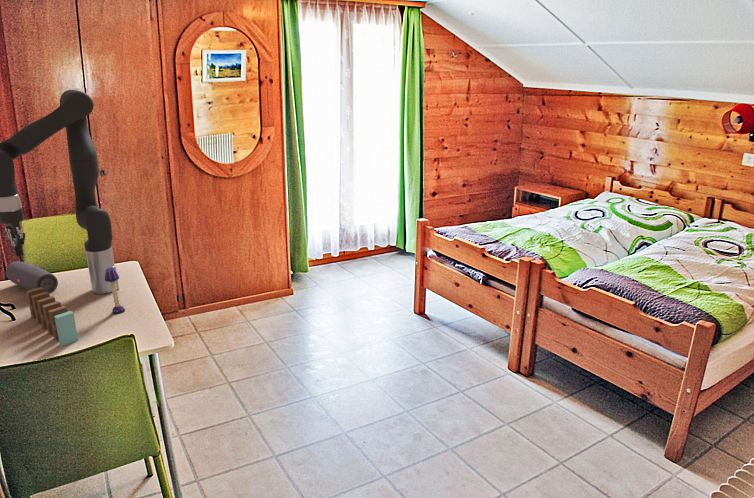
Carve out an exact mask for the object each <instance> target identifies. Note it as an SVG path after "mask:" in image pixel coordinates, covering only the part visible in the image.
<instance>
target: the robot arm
mask: <svg viewBox="0 0 754 498" xmlns="http://www.w3.org/2000/svg"><path fill="white" fill-rule="evenodd" d="M93 110H94V100H93V98H92V97H91V96H90V95H89V94H88V93H86V92H84V91H81V90H78V89H67V90H65V91H64V92H62V93H61V95H60V98H59V106H58V107H56V108H55V109H54V110H53V111H52V112H49V113H48V114H46V115H45V116H43V117H41V118H38V119H37V120H34V121H32V122H31V123H29V124H27V125H26V126H24V127H23V128H21V129H19V130H18V131H16V132H15V133H14V134H12V135H11V136H10V137H9V138H7V139H5V140H3V141H1V142H0V224H3V225H5V226H4V227H3V228H2V229H3V231H4V233H5V235H6V238H7V240H8V242H9V243H11V244H10V245H11V246H12V247H13V252H14V253H13V254H14V255H15V256H16V257H22V256H24V250H23V245H25V240H26V233H25V232H23V229H22V225H21V224H20V223H21V222H23V221H24V220H25V215H24V211H23V206H22V201H21V198H20V196H19V190H18V186H17V183H16V171H15V162H14V160H15V159H17V158H18V157H20V156H23V155H27V154H29V153H31V151H33V150H34V149H36V148H37V147H39V146H40V145H41V144H43V143H44V142H45V141H47V140H48V139H49V138H51V137H52V136H54V135H55V134H57V133H59V132H60V131H61V130H63V129H65V131H66V142H67V150H68V159H69V165H70V172H71V177H72V183H73V185H72V186H73V190H74V198H75V200H74V202H75V204H74V205H75V220H76V223H77V224H78V226H79V227H80V228H82V229H84V230H86V233H87V240H86V241H85V242H84V244H83V245H84V251H85V257H86V262H87V267H88V269H87V270H88V273H89V279H90V285H91V290H92V293H93V294H97V295H102V294H110V293H112V292H113V291H112V287H111V283H110V282H107V281H105V271H106V269H107V268H110V267H113V268H115V270H116V271H117V267H116V264H115V259H114V252H113V246H112V245H113V244H112V241H113V228H112V221H111V217H110V215H109V213H108V211H107V210H105V209H103V208H100V207H98V204H97V200H96V188H97V187H96V185H97V183H98V179H99V174H100V173H99V172H100V166H99V165H100V164H99V159H98V154H97V150H96V146H95V143H94V142H93V140H92V136H91V134H90V132H89V128H88V119H87V117H88V116H89V115H91V113H93ZM118 280H119V279H118ZM118 280H116V282H115V283H116V287H117V291H118V290H120V286H119V281H118Z"/></svg>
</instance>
